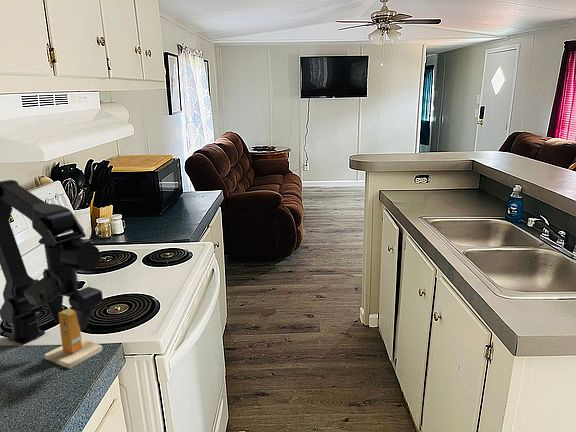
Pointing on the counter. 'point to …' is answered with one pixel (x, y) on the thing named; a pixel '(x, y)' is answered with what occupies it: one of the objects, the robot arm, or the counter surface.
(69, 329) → the supplement box
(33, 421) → the counter surface
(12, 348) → the counter surface
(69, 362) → the birch board
